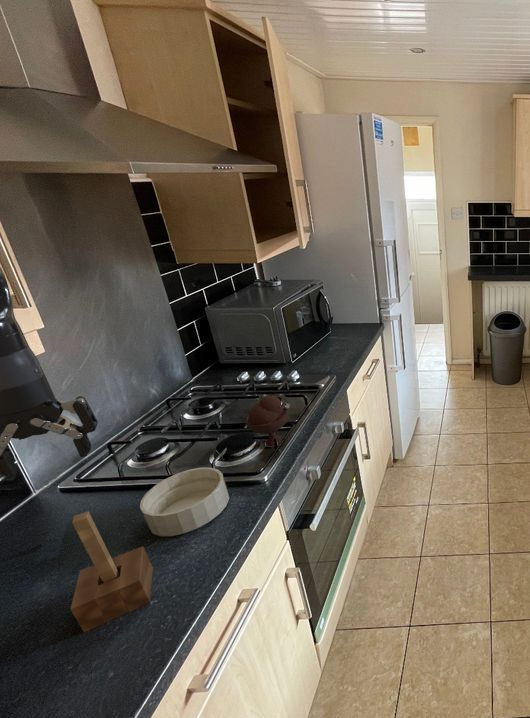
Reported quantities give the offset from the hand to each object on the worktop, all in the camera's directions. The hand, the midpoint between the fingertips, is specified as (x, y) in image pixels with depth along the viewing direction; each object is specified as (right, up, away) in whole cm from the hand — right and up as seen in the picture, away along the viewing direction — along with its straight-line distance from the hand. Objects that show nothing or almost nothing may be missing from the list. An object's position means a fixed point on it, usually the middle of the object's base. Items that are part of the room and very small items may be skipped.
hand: (50, 464), depth 70 cm
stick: (+5, -28, +8) cm, 29 cm away
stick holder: (+5, -28, +8) cm, 29 cm away
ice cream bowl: (+8, -10, +52) cm, 53 cm away
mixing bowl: (+3, -20, +27) cm, 34 cm away
